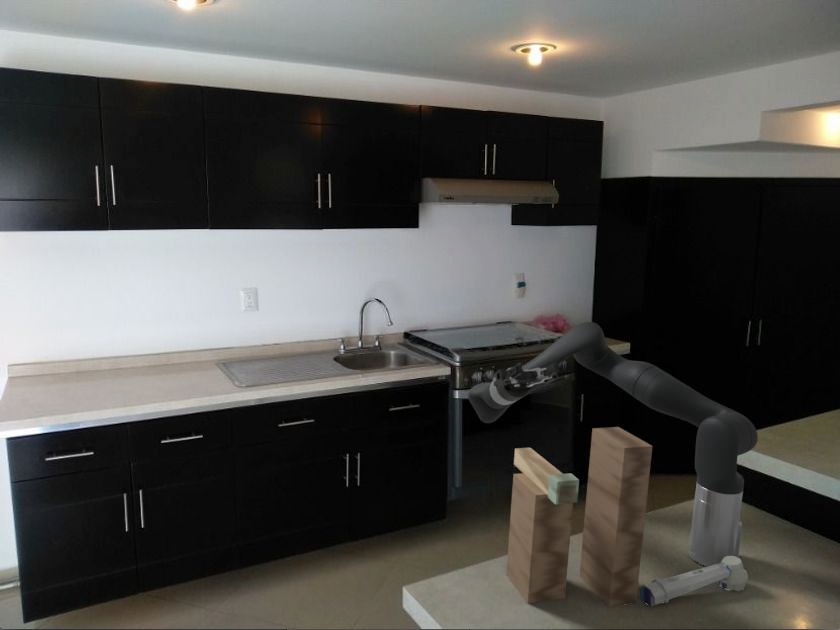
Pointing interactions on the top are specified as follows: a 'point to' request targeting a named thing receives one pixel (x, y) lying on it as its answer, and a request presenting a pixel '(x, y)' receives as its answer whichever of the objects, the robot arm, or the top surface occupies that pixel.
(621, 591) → the walnut post
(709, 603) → the top surface
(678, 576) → the white tube with head
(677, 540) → the top surface
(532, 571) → the low walnut block
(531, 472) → the oak rail
